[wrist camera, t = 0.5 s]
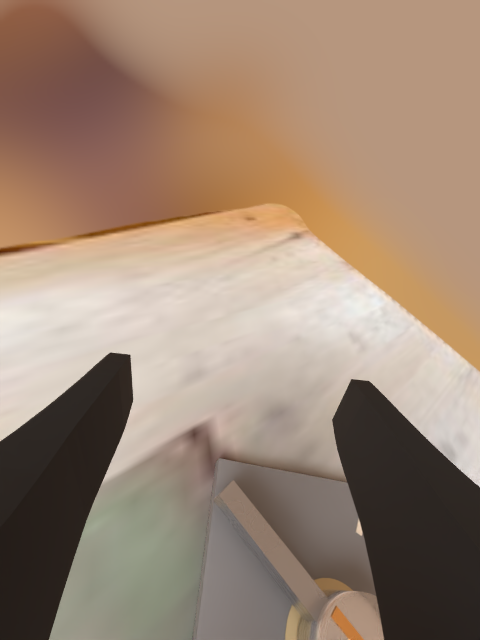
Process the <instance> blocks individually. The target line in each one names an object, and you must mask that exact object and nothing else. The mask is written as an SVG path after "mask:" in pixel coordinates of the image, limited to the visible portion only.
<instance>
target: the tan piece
mask: <svg viewBox="0 0 480 640" xmlns="http://www.w3.org/2000/svg"><path fill="white" fill-rule="evenodd" d="M213 501H214V502H215V503H216V505H217V506H218V507H219V509H220V510H221V511H222V513H223V514H224V515H225V516H226V518H227V519H228V520H229V522H230V523H231V524H232V526H233V527H234V528H235V530H236V531H237V532H238V534H239V535H240V536H241V538H242V539H243V540H244V542H245V543H246V544H247V546H248V547H249V548H250V549H251V551H252V552H253V553H254V555H255V556H256V557H257V559H258V560H259V561H260V563H261V564H262V565H263V567H264V568H265V569H266V571H267V572H268V573H269V575H270V576H271V577H272V579H273V580H274V581H275V582H276V584H277V585H278V586H279V588H280V589H281V590H282V592H283V593H284V594H285V596H286V597H287V598H288V600H289V601H290V602H291V604H292V605H293V606H294V608H295V609H296V610H297V612H298V613H299V614H300V615H301V616H300V620H299V624H298V630H297V640H384V636H383V630H382V624H381V618H380V613H379V608H378V602H377V597H376V596H375V595H373V594H370V593H367V592H360V591H346V590H332V589H328V590H321V589H320V588H319V586H318V585H317V584H316V583H315V581H314V580H313V579H312V578H311V576H310V575H309V574H308V573H307V571H306V570H305V569H304V568H303V566H302V565H301V564H300V563H299V561H298V560H297V559H296V558H295V556H294V555H293V554H292V553H291V551H290V550H289V549H288V548H287V546H286V545H285V544H284V543H283V541H282V540H281V539H280V538H279V536H278V535H277V534H276V533H275V531H274V530H273V529H272V528H271V526H270V525H269V524H268V523H267V521H266V520H265V519H264V518H263V516H262V515H261V514H260V513H259V511H258V510H257V509H256V508H255V506H254V505H253V504H252V503H251V501H250V500H249V499H248V498H247V496H246V495H245V494H244V493H243V491H242V490H241V489H240V488H239V486H238V485H237V484H236V483H235V481H234V480H233V481H232V482H230V483H229V484H228V485H227V486H226V487H225V488H224V489H223V490H222V491H221V492H220V493H219V494H218V495H217V496H216V497H215V498H214V499H213Z"/></svg>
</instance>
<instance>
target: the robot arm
mask: <svg viewBox="0 0 480 640" xmlns="http://www.w3.org/2000/svg"><path fill="white" fill-rule="evenodd" d="M132 403H133V389H132V374H131V358H130V355H127V354H118V353H109V354H108V355H107V356H105V357H104V358H103V359H102V360H101V361H100V362H99V363H98V364H96V365H95V366H94V367H93V368H92V369H91V370H90V371H89V372H87V373H86V374H85V375H84V376H83V377H82V378H81V379H79V380H78V381H77V382H76V383H75V384H74V385H73V386H71V387H70V388H69V389H68V390H67V391H65V392H64V393H63V394H62V395H61V396H59V397H58V398H57V399H56V400H55V401H53V402H52V403H51V404H50V405H48V406H47V407H46V408H45V409H43V410H42V411H41V412H39V413H38V414H37V415H35V416H34V417H33V418H32V419H30V420H29V421H28V422H26V423H25V424H24V425H22V426H21V427H20V428H18V429H17V430H16V431H14V432H13V433H11V434H10V435H9V436H7V437H6V438H4V439H3V440H2V441H0V640H49V637H50V633H51V630H52V627H53V623H54V620H55V617H56V613H57V610H58V607H59V603H60V600H61V597H62V594H63V591H64V588H65V584H66V581H67V578H68V575H69V572H70V569H71V566H72V562H73V559H74V556H75V553H76V550H77V547H78V544H79V541H80V538H81V535H82V532H83V529H84V526H85V523H86V520H87V517H88V515H89V512H90V510H91V507H92V505H93V502H94V500H95V497H96V495H97V493H98V490H99V488H100V486H101V483H102V481H103V479H104V477H105V474H106V472H107V470H108V467H109V465H110V463H111V460H112V458H113V456H114V453H115V451H116V449H117V446H118V444H119V442H120V439H121V437H122V434H123V432H124V429H125V426H126V423H127V420H128V416H129V413H130V409H131V406H132ZM332 421H333V427H334V433H335V439H336V444H337V450H338V453H339V456H340V460H341V463H342V466H343V470H344V473H345V476H346V479H347V483H348V486H349V489H350V492H351V495H352V499H353V502H354V505H355V508H356V511H357V515H358V518H359V521H360V525H361V528H362V532H363V536H364V539H365V544H366V549H367V553H368V558H369V563H370V567H371V572H372V576H373V582H374V587H375V592H376V597H377V602H378V608H379V613H380V618H381V624H382V630H383V636H384V640H480V487H479V486H478V485H476V484H475V483H474V482H473V481H472V480H471V479H469V478H468V477H467V476H466V475H465V474H464V473H463V472H461V471H460V470H459V469H458V468H457V467H456V466H455V465H454V464H453V463H452V462H451V461H449V460H448V459H447V458H446V457H445V456H444V455H443V454H442V453H441V452H440V451H439V450H438V449H437V448H436V447H434V446H433V445H432V444H431V443H430V442H429V441H428V440H427V439H426V438H425V437H424V436H423V435H422V434H421V433H420V432H419V431H418V430H417V429H416V428H415V427H414V426H413V425H412V424H411V423H410V422H409V421H408V420H407V419H406V418H405V417H404V416H403V415H402V414H401V413H400V412H399V411H398V410H397V408H396V407H395V406H394V405H393V404H392V403H391V402H390V401H389V400H388V399H387V398H386V397H385V396H384V395H383V394H382V393H381V392H380V391H379V390H378V389H377V388H376V387H375V386H374V385H373V384H372V383H371V382H369V381H363V380H354V379H351V381H350V384H349V386H348V388H347V390H346V392H345V394H344V396H343V398H342V400H341V403H340V405H339V407H338V409H337V411H336V413H335V415H334V417H333V419H332Z"/></svg>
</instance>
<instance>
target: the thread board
mask: <svg viewBox="0 0 480 640" xmlns="http://www.w3.org/2000/svg"><path fill="white" fill-rule="evenodd" d="M233 480H234V481H235V483H236V484H237V485H238V486H239V488H240V489H241V490H242V491H243V493H244V494H245V495H246V496H247V498H248V499H249V500H250V501H251V503H252V504H253V505H254V506H255V508H256V509H257V510H258V511H259V513H260V514H261V515H262V516H263V518H264V519H265V520H266V521H267V523H268V524H269V525H270V526H271V528H272V529H273V530H274V531H275V533H276V534H277V535H278V536H279V538H280V539H281V540H282V541H283V543H284V544H285V545H286V546H287V548H288V549H289V550H290V551H291V553H292V554H293V555H294V556H295V558H296V559H297V560H298V561H299V563H300V564H301V565H302V566H303V568H304V569H305V570H306V571H307V573H308V574H309V575H310V576H311V578H312V579H313V580H314V581H315V583H316V584H317V585H318V586H319V588H320V589H321V590H328V589H332V590H346V591H360V592H367V593H370V594H373V595H375V596H376V592H375V587H374V582H373V576H372V572H371V567H370V563H369V558H368V553H367V549H366V544H365V539H364V536H363V532H362V528H361V525H360V521H359V518H358V515H357V511H356V508H355V505H354V502H353V499H352V495H351V492H350V489H349V486H348V483H347V482H343V481H337V480H332V479H327V478H321V477H316V476H311V475H305V474H300V473H295V472H290V471H284V470H279V469H274V468H268V467H263V466H258V465H252V464H247V463H242V462H237V461H231V460H226V459H221V458H219V459H218V460H217V461H216V465H215V472H214V480H213V487H212V495H211V502H210V510H209V517H208V525H207V532H206V540H205V548H204V555H203V563H202V570H201V578H200V585H199V593H198V600H197V608H196V616H195V623H194V631H193V638H192V640H297V630H298V624H299V620H300V616H301V615H300V614H299V613H298V612H297V610H296V609H295V608H294V606H293V605H292V604H291V602H290V601H289V600H288V598H287V597H286V596H285V594H284V593H283V592H282V590H281V589H280V588H279V586H278V585H277V584H276V582H275V581H274V580H273V579H272V577H271V576H270V575H269V573H268V572H267V571H266V569H265V568H264V567H263V565H262V564H261V563H260V561H259V560H258V559H257V557H256V556H255V555H254V553H253V552H252V551H251V549H250V548H249V547H248V546H247V544H246V543H245V542H244V540H243V539H242V538H241V536H240V535H239V534H238V532H237V531H236V530H235V528H234V527H233V526H232V524H231V523H230V522H229V520H228V519H227V518H226V516H225V515H224V514H223V513H222V511H221V510H220V509H219V507H218V506H217V505H216V503H215V502H214V501H213V499H214V498H215V497H216V496H217V495H218V494H219V493H220V492H221V491H222V490H223V489H224V488H225V487H226V486H227V485H228V484H229V483H230V482H232V481H233Z"/></svg>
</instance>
